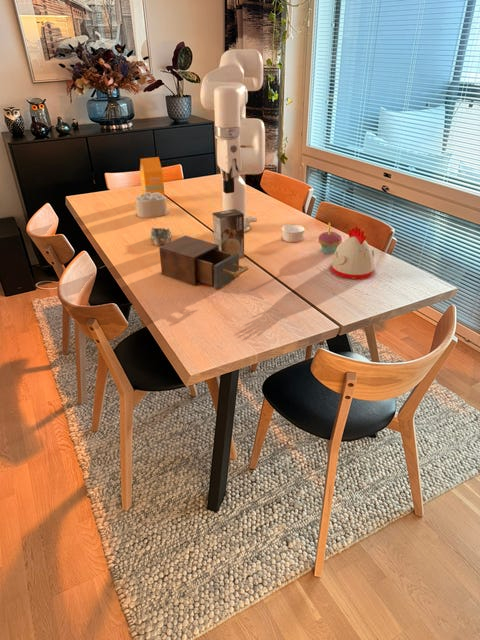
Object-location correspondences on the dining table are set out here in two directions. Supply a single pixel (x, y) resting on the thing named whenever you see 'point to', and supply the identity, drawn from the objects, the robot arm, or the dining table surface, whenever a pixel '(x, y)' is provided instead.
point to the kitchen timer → (353, 257)
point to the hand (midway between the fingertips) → (228, 192)
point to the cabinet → (183, 258)
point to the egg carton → (160, 236)
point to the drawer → (218, 268)
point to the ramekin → (292, 233)
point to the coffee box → (229, 231)
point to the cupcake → (329, 241)
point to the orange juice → (151, 175)
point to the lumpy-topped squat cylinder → (151, 205)
